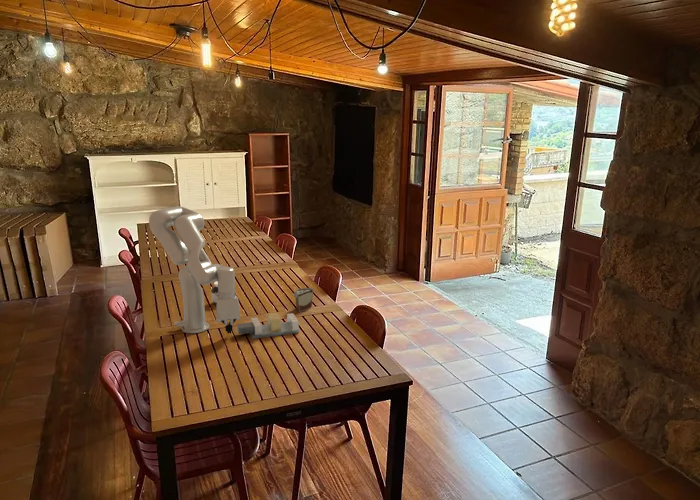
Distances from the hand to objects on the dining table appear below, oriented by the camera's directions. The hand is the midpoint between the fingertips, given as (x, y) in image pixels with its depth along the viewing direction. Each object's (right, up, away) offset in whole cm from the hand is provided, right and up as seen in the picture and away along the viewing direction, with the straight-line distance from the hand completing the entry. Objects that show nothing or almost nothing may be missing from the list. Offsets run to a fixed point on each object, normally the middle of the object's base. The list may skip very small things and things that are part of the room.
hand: (229, 332), depth 227 cm
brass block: (+20, +1, +8) cm, 21 cm away
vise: (+19, -1, +8) cm, 21 cm away
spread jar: (-14, +8, +41) cm, 44 cm away
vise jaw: (+8, 0, +3) cm, 9 cm away
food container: (+30, +7, +37) cm, 48 cm away
